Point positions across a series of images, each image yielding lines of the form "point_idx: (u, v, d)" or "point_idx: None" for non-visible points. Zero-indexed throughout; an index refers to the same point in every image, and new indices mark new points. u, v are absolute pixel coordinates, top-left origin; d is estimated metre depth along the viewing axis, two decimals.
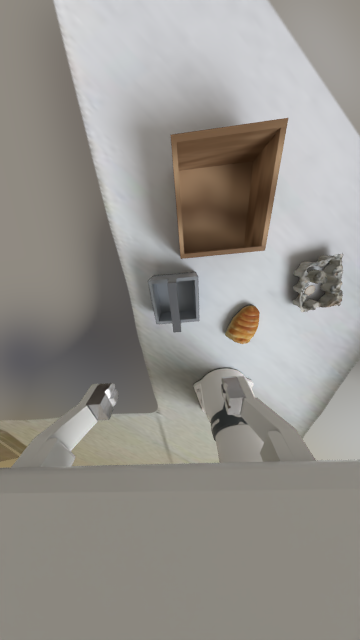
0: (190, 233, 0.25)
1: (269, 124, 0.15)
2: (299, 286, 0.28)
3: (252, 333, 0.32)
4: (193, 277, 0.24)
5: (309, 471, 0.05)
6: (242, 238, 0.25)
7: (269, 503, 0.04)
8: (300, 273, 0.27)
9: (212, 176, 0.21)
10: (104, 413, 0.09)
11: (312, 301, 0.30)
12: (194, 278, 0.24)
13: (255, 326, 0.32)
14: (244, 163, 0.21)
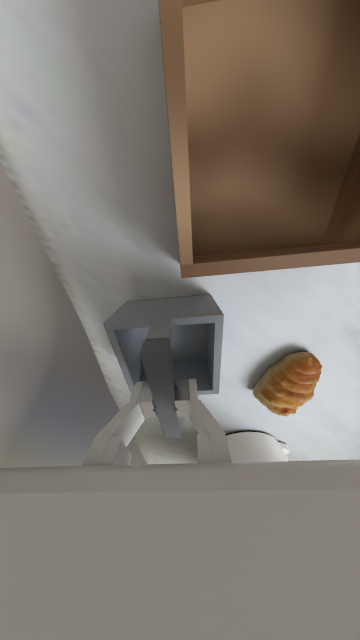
0: (204, 212, 0.11)
1: None
2: None
3: (306, 401, 0.18)
4: (212, 317, 0.10)
5: (309, 471, 0.05)
6: (323, 224, 0.11)
7: (269, 503, 0.04)
8: None
9: (278, 30, 0.07)
10: (153, 411, 0.09)
11: None
12: (214, 319, 0.10)
13: (312, 389, 0.17)
14: None
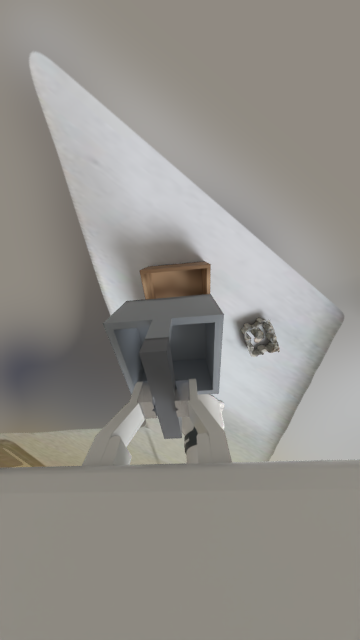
0: None
1: (199, 266, 0.24)
2: None
3: None
4: (212, 316, 0.10)
5: (309, 471, 0.05)
6: None
7: (269, 503, 0.04)
8: (243, 333, 0.36)
9: (175, 272, 0.31)
10: (153, 411, 0.09)
11: (261, 347, 0.39)
12: (214, 319, 0.10)
13: None
14: None
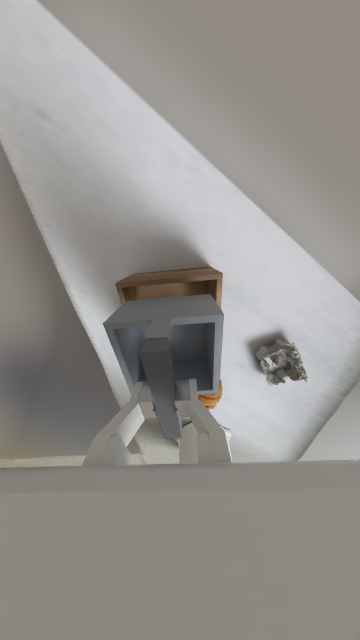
0: None
1: (206, 277, 0.16)
2: None
3: (216, 401, 0.33)
4: (212, 316, 0.10)
5: (309, 471, 0.05)
6: None
7: (269, 503, 0.04)
8: (259, 359, 0.28)
9: None
10: (153, 411, 0.09)
11: (282, 373, 0.31)
12: (214, 318, 0.10)
13: (218, 395, 0.32)
14: None
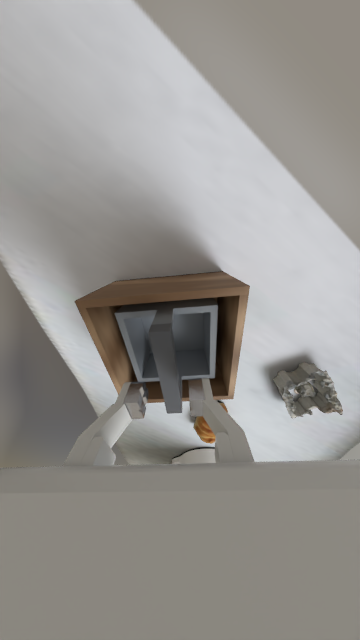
0: None
1: (221, 292, 0.10)
2: None
3: None
4: (208, 307, 0.12)
5: (309, 471, 0.05)
6: None
7: (269, 503, 0.04)
8: (279, 389, 0.22)
9: None
10: (140, 411, 0.09)
11: (307, 401, 0.25)
12: (210, 309, 0.12)
13: None
14: None
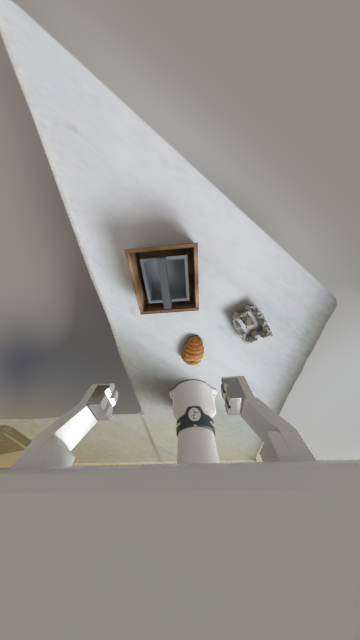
0: None
1: (186, 245, 0.23)
2: None
3: (199, 357, 0.41)
4: (182, 256, 0.25)
5: (309, 471, 0.05)
6: (191, 292, 0.34)
7: (269, 503, 0.04)
8: (233, 322, 0.37)
9: (164, 254, 0.30)
10: (104, 413, 0.09)
11: (254, 333, 0.39)
12: (183, 257, 0.25)
13: (200, 352, 0.41)
14: (185, 247, 0.29)
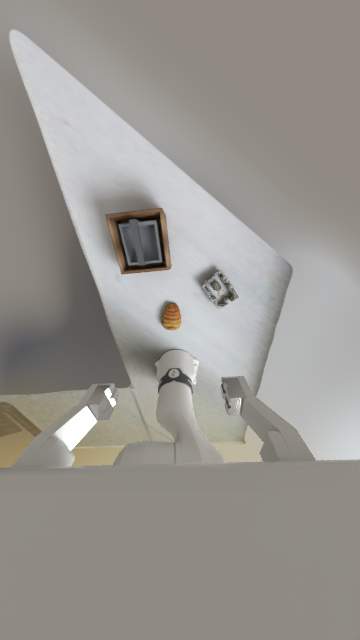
0: None
1: (153, 210, 0.29)
2: None
3: (176, 322, 0.47)
4: (153, 221, 0.32)
5: (309, 471, 0.05)
6: None
7: (269, 503, 0.04)
8: (204, 288, 0.42)
9: None
10: (104, 413, 0.09)
11: (225, 299, 0.45)
12: (153, 222, 0.32)
13: (177, 317, 0.46)
14: (158, 219, 0.35)
